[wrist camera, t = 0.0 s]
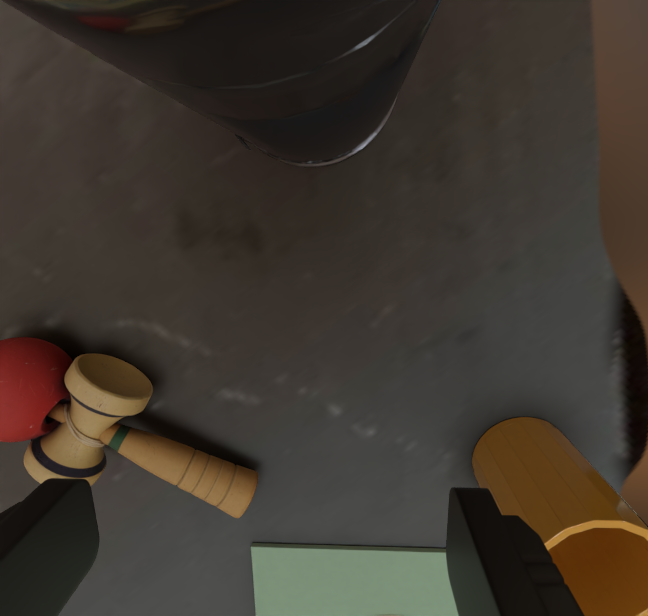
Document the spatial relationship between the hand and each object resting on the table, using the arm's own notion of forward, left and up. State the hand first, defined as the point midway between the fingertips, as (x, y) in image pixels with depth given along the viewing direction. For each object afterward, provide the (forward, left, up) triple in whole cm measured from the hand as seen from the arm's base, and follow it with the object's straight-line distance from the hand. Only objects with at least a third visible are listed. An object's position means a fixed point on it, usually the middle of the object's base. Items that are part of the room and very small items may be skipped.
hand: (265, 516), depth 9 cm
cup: (+10, +13, -17) cm, 24 cm away
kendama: (+7, -12, -17) cm, 22 cm away
